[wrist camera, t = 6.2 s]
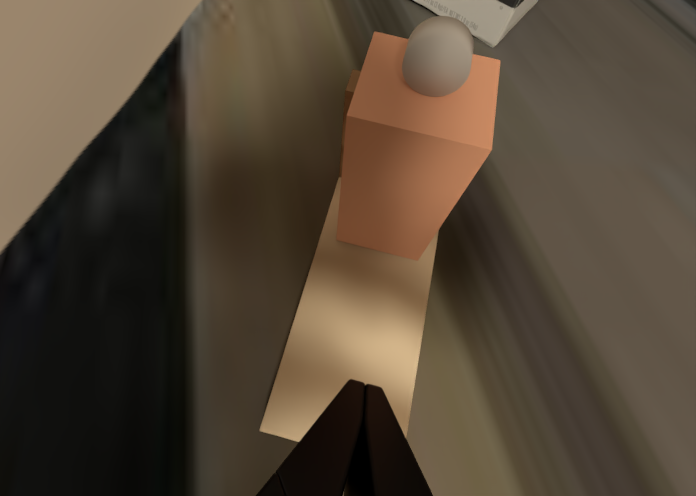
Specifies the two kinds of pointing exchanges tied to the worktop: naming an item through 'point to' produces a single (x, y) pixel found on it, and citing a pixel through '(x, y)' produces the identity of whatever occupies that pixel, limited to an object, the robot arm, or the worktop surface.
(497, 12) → the tea box
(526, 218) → the worktop surface
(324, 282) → the track
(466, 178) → the slider
